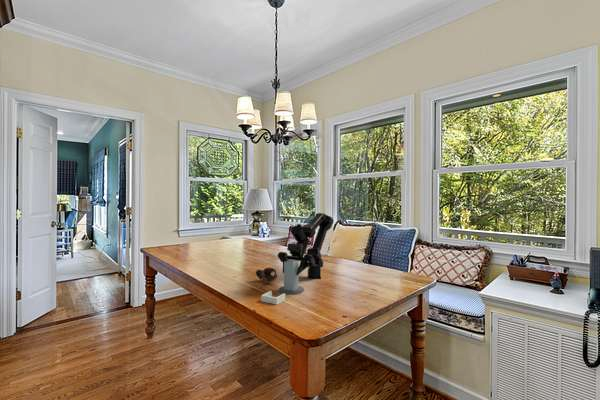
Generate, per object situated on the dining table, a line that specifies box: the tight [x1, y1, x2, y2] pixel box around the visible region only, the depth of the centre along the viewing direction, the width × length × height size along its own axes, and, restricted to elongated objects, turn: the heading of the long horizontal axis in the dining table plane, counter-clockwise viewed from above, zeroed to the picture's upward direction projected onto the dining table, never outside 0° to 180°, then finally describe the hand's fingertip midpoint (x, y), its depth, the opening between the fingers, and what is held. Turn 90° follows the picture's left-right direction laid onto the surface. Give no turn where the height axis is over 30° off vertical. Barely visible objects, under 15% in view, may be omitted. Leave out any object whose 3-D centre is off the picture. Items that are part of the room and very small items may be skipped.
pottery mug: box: [255, 267, 278, 285], centre depth 151 cm, size 12×10×8 cm
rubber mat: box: [278, 285, 305, 295], centre depth 137 cm, size 12×12×1 cm
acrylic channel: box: [260, 290, 286, 305], centre depth 123 cm, size 7×8×2 cm
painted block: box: [283, 260, 299, 291], centre depth 137 cm, size 5×5×13 cm
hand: (289, 273), depth 136 cm, fingers open, 7 cm apart
